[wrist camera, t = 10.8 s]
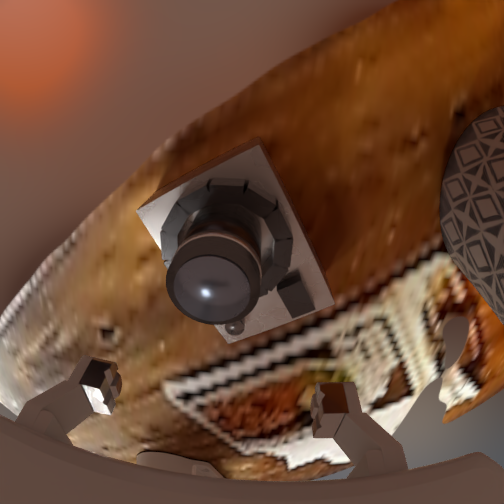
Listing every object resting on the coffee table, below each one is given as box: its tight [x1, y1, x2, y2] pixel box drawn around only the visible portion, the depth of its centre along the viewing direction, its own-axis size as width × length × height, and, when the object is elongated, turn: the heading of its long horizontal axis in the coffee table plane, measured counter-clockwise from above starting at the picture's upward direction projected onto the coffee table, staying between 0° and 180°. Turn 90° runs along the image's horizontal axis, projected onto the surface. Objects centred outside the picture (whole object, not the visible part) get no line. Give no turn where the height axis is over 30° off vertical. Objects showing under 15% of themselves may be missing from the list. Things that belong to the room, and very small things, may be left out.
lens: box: [166, 203, 262, 325], centre depth 19 cm, size 5×5×7 cm
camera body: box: [136, 137, 335, 344], centre depth 25 cm, size 14×10×7 cm
